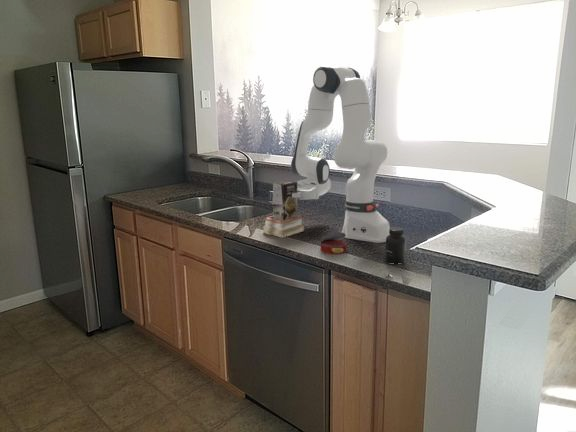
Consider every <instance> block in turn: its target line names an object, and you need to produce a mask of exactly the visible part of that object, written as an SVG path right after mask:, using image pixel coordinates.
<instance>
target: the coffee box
mask: <svg viewBox="0 0 576 432" xmlns="http://www.w3.org/2000/svg"><path fill="white" fill-rule="evenodd" d="M297 183H298V182H297V181H291V180H283V181H279V182H273V183H272V216H273V219H275V220H280V221H283V220H287V219H290V218H294V217H297V215H298V198H297V197H295V198H291V197H290V193H297Z"/></svg>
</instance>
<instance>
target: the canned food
mask: <svg viewBox="0 0 576 432" xmlns="http://www.w3.org/2000/svg"><path fill="white" fill-rule="evenodd" d="M344 236H346V234H344V233H342V231H333V232H329V233H328V234H326V235H324V236H323V237H322V238H320V240H319V241H320V252H321V251H322V252H321V253H323V252H324V254H327V253H328V254H327V255H342V254H345V253H346V252H347V251H348V250H347V248H348V243H347V241H345V240H342V239H341V238H345V237H344ZM341 253H342V254H341Z"/></svg>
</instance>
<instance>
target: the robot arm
mask: <svg viewBox="0 0 576 432" xmlns="http://www.w3.org/2000/svg"><path fill="white" fill-rule="evenodd" d="M312 82H313V85H312V86H311V88H310V89H311V90H310V93H309V97H308V106H307V114H306V116H305V118H304V120H302V121H301V123H300V126H299V130H298V134H297V139H296V143H295V148H294V149H295V150H294V153H293V156H292V160H291V163H290V169H291V171H292V173H293V174H294V175H295V176H297V177H304V178H306V179H300V180H298V181H296V182H298V183H297V193H290V197H291V198H295V197H297V200H300V201H305V200H319V199H320V196H323V195H325V194H326V193H328V192H329V191H330V189H331V187H332V184H331V179H330V178H329V177H330V170H331V168H330V165H329V163H328V161H327V160H326V158H322V157H316V156H311V155H308V149H309V146H310V145H309V144H310V140H311V139H310V138H311V137H312V135H313V134H315V133H316V132H320V131H323V130H324V129H326V128H328V127H329V126H330V125H331V123H332V122H333V116H334V107H335V105H334V103H335V99H336V97H337V96H339V97H340V101H341V111H342V121H343V123H342V124H343V126H342V127H343V128H342V135H341V138H340V141H339V143H338V145H336V147H335V148H334V151H333V160H334V163H335V165H336V166H337V167H338V168H341V169H348V170H354V172H353V173H352V176H351V177H349V178H348V179H347V181H346V187H345V188H346V191H345V192H346V193H345V194H346V195H345V196H346V197H345V198H346V199H345V200H344V211H345V214H344V221H343V226H342V229H341V233H344V234H346V236H344V237H343V238H345V239H351V240H357V241H365V242H370V243H376V244H380V243H386V237H387V236H388V235H390V234H389V229H390V228H391V227H390V223H389V220H387V219H386V218H385V217H384V216H383V215H382V214H381V213H380V212H379V211H378V210H377V208H378V206H379V203H375V201H374V188H375V187H374V186H375V182H376V181H375V180H376V178H377V174H378V173H379V169H380V168H381V165H382V164H383V163H385V161H386V160H387V157H388V148H387V145H386V144H385V143H384V142H383V141H379V140H377V139H365V136H366V135H365V134H366V133H367V130H368V129H369V127H370V126H371V125H372V116H371V115H372V114H371V107H370V106H371V105H370V100H369V99H370V98H369V93H368V89H367V86H366V82H365V81H364V80H363V79H362V78H361V75H360V73H359V72H358V71H357V70H356V69H355V68H352V67H346V66H345V67H344V66H341V65H326V64H325V65H322V66H319V67H318V68H316V69H315V71H314V73H313V77H312Z"/></svg>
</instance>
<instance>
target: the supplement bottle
mask: <svg viewBox="0 0 576 432" xmlns="http://www.w3.org/2000/svg"><path fill="white" fill-rule="evenodd" d="M404 231H405V230H404V228H403V227H398V226H391V227H390V229H389V234H390V235H388V236H387V237H386V242H385V245H384V247H385V250H384V262H385V263H387V262H388V263H387V264H389V263H394V264H398V263H403V262H404V263H405V261H406V260H405V258H406V246H407V238H406V237H405V236H404V234H405V232H404ZM404 263H403V264H404Z"/></svg>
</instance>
